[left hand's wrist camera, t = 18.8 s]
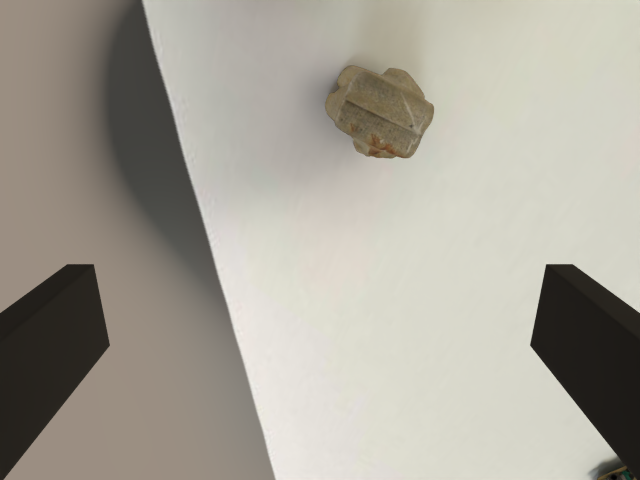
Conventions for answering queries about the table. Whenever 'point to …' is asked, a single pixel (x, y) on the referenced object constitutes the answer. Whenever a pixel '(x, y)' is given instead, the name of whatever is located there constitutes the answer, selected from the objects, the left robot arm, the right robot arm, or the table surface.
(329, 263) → the table surface
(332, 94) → the sculpture
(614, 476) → the spray gun
